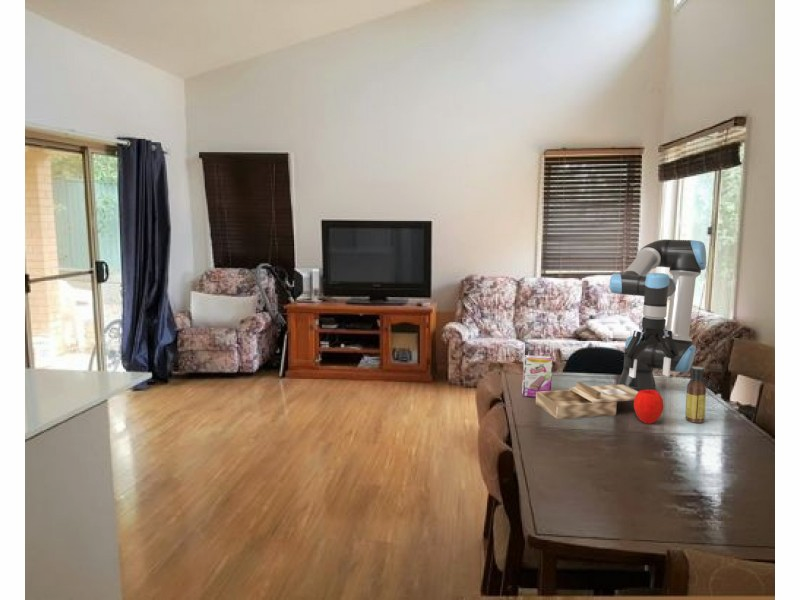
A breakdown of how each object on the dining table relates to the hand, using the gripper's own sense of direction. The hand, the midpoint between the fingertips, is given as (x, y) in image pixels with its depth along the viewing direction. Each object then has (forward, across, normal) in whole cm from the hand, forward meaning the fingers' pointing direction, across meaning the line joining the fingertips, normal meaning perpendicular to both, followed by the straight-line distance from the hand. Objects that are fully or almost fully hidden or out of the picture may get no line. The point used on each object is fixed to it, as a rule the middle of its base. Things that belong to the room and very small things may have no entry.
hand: (649, 376), depth 204 cm
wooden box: (+17, +19, -16) cm, 30 cm away
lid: (+12, +5, -17) cm, 21 cm away
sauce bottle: (+17, -19, +2) cm, 25 cm away
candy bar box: (+17, +26, -34) cm, 46 cm away
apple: (+17, 0, 0) cm, 17 cm away
